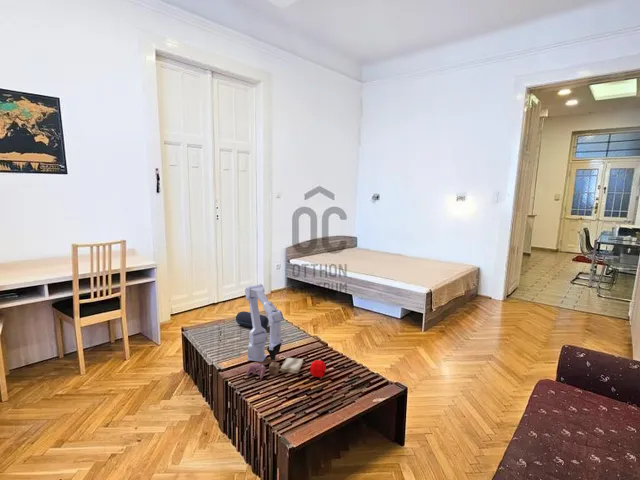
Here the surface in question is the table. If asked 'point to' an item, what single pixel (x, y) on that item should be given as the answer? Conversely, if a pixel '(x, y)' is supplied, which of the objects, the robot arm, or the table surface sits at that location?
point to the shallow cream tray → (292, 365)
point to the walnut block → (274, 368)
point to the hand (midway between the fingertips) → (275, 356)
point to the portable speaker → (246, 320)
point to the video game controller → (254, 371)
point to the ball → (318, 368)
